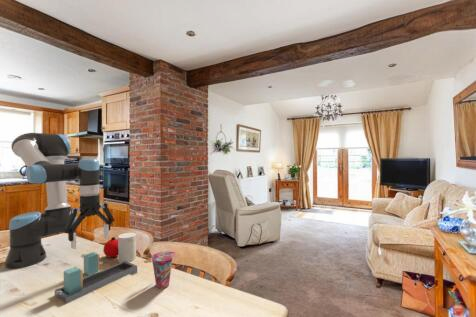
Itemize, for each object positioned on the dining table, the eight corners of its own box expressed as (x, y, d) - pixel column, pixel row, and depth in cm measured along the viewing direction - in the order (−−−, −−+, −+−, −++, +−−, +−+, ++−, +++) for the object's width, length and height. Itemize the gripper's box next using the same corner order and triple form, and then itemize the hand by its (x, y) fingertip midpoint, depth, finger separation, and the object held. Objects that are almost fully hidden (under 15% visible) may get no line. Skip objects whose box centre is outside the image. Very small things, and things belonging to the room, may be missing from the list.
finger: (100, 273, 106) (99, 253, 106) (88, 278, 102) (88, 257, 102) (95, 270, 109) (94, 251, 108) (83, 275, 105) (83, 255, 104)
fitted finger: (83, 291, 90) (83, 268, 90) (69, 298, 86) (68, 273, 86) (78, 288, 93) (77, 265, 92) (64, 294, 88) (63, 270, 88)
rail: (54, 298, 88) (54, 290, 88) (125, 267, 112) (125, 260, 112) (66, 306, 83) (66, 298, 83) (137, 272, 107) (137, 265, 107)
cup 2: (165, 292, 91) (165, 261, 91) (147, 288, 94) (146, 258, 94) (178, 280, 100) (178, 252, 100) (161, 277, 103) (161, 249, 103)
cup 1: (129, 263, 116) (129, 238, 116) (114, 261, 118) (114, 237, 118) (139, 256, 124) (139, 233, 124) (125, 254, 126) (125, 232, 125)
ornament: (122, 258, 121) (122, 239, 121) (102, 261, 118) (102, 241, 117) (123, 251, 129) (123, 233, 129) (104, 254, 126) (104, 235, 126)
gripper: (60, 200, 92) (61, 255, 92) (121, 191, 113) (122, 235, 113) (52, 198, 96) (53, 251, 96) (112, 190, 117) (113, 233, 117)
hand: (90, 243), depth 105 cm, fingers open, 13 cm apart
